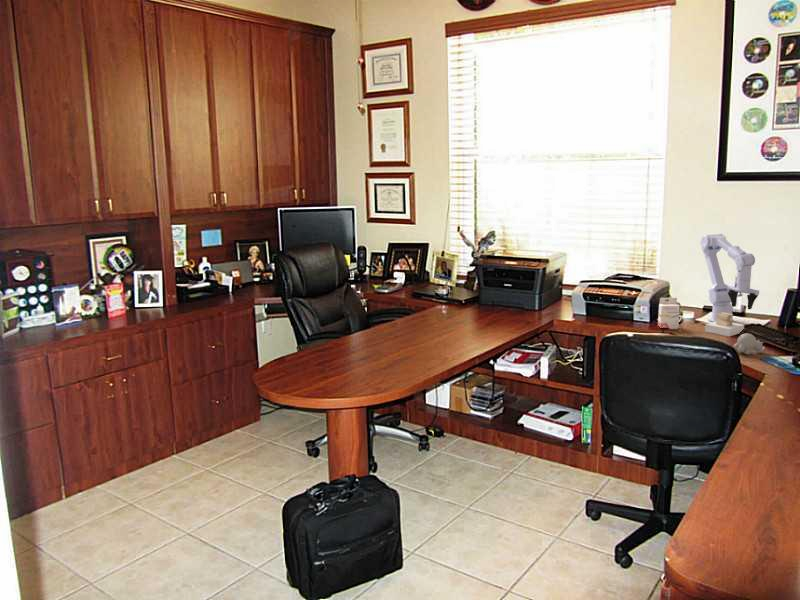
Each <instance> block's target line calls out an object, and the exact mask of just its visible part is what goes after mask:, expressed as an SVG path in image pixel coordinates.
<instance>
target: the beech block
mask: <svg viewBox="0 0 800 600" xmlns="http://www.w3.org/2000/svg"><path fill="white" fill-rule="evenodd" d="M733 318H734V314H733V313H732V314H729V313H724V312H722V313H719V314H717V319H716V324H717V325H722V326H729V325H732V322H733V323H734V319H733Z"/></svg>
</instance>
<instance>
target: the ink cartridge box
mask: <svg viewBox="0 0 800 600" xmlns="http://www.w3.org/2000/svg"><path fill="white" fill-rule="evenodd" d="M677 300H678V298H677V297H660V298H659V303H658V314H657V315H658V317H657V318H658V319H657V327H658V326H659V327H660V328H669V329H668V330H678V329H679V322H680V321H679V318H680V305H679V304H678V303H677ZM659 327H658V328H659ZM660 328H659V329H660Z"/></svg>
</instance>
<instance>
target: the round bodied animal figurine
mask: <svg viewBox="0 0 800 600" xmlns="http://www.w3.org/2000/svg"><path fill="white" fill-rule="evenodd" d="M760 340H761V339H758V340H757V339H756V337H755V336H754V335H753V334H752V333H747V332H746V333H743V334H742V333H741V334H740V335H739V336H738V338H737V340H736V341H737V342H736V343H734V344H733V347H734V348H735V349H734V348H733V347H732V348H733V349H734V350H735V351H738V352H740V353H743V354H745V355H747V356H749V355H750V354H751V351H752V350H753V351H755V352H756V353H757V354H760V353H761V354H762V353H763V351H764V350H765V348H766V347H765V346H763V344H764V341H760Z"/></svg>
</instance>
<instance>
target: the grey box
mask: <svg viewBox="0 0 800 600" xmlns="http://www.w3.org/2000/svg"><path fill="white" fill-rule="evenodd" d="M704 325H705V328H704V332H705V333H706V332H707V333H710V334H715V335H721V336H724V337H731V336H735V335H738V334H741V333H740V332H741V331H742V330H743V329H744V330H745V324H742V323H737V322H734V321H733V322H732V325H729V326H722V325H717V324H716V321H715V322H712V321H711V322H708V323H706V324H704Z"/></svg>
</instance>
